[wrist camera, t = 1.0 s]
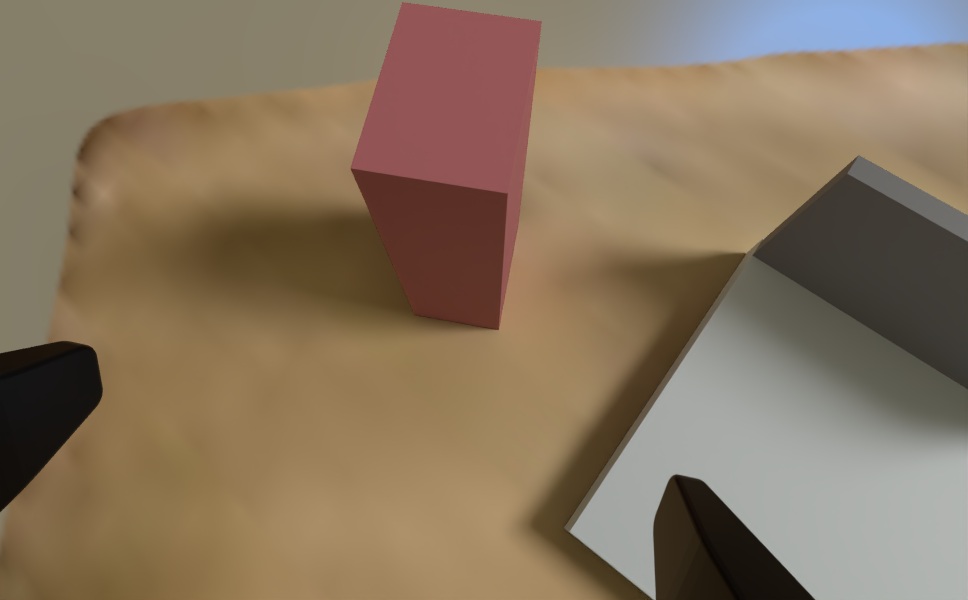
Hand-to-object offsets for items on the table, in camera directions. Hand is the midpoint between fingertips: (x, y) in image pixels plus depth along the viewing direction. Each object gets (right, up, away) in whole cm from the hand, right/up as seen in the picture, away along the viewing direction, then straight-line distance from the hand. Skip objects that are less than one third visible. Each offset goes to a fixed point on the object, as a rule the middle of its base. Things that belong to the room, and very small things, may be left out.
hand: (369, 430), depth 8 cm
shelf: (+14, -5, +12) cm, 19 cm away
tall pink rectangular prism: (+1, +3, +15) cm, 15 cm away
